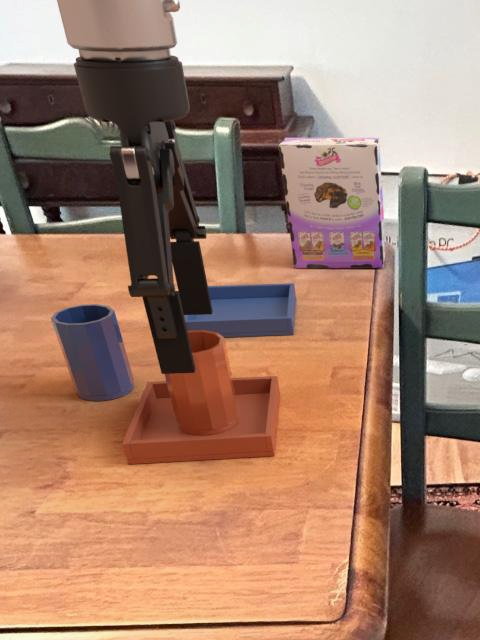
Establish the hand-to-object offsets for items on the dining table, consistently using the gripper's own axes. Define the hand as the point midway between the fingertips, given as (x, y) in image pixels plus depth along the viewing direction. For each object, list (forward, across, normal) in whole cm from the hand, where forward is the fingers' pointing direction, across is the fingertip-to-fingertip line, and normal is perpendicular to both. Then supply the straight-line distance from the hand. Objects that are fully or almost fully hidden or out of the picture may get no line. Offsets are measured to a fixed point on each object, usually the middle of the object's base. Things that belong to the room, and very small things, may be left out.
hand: (189, 340), depth 67 cm
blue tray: (+9, +30, -1) cm, 31 cm away
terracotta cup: (+8, 0, 0) cm, 8 cm away
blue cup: (+9, +10, +12) cm, 18 cm away
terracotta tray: (+9, 0, 0) cm, 9 cm away
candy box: (+9, +52, -14) cm, 54 cm away
